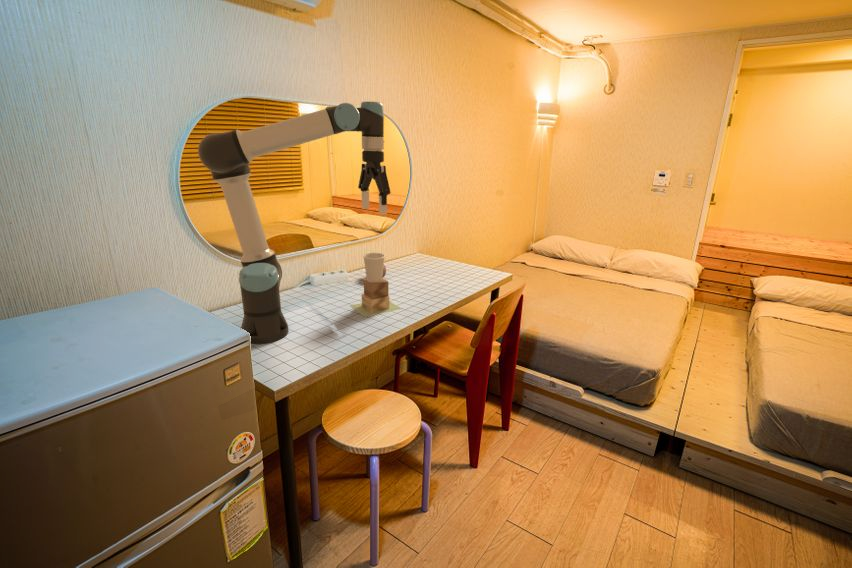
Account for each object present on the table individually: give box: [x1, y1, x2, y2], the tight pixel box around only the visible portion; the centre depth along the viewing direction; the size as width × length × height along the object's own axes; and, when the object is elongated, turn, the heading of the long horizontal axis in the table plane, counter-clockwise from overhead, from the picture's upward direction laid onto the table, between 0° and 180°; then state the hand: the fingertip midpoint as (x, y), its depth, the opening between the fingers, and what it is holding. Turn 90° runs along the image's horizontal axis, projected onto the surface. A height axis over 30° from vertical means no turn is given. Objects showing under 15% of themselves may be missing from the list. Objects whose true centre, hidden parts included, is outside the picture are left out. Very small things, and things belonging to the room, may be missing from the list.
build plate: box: [349, 300, 402, 318], centre depth 163 cm, size 16×13×1 cm
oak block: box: [361, 293, 390, 312], centre depth 162 cm, size 8×8×5 cm
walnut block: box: [363, 277, 389, 299], centre depth 160 cm, size 7×7×6 cm
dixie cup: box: [362, 252, 386, 283], centre depth 157 cm, size 8×8×10 cm
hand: (374, 211), depth 150 cm, fingers open, 13 cm apart
